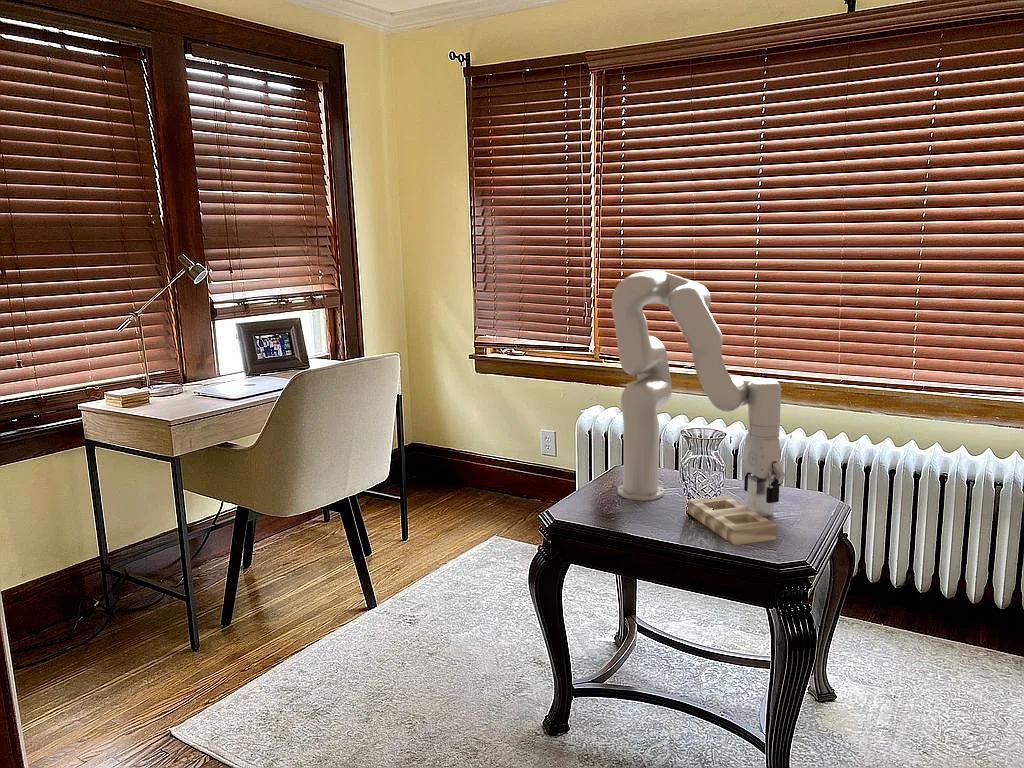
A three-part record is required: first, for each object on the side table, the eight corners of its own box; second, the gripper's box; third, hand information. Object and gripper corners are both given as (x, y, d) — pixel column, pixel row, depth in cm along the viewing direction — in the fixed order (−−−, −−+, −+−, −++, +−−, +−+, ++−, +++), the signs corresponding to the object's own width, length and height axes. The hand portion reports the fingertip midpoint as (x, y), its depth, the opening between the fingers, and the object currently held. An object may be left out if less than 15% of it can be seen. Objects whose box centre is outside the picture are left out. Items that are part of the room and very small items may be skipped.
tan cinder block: (687, 513, 203) (687, 499, 202) (726, 508, 206) (726, 495, 205) (734, 545, 182) (734, 530, 181) (776, 539, 185) (776, 524, 184)
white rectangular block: (746, 511, 203) (748, 474, 201) (764, 509, 204) (765, 472, 202) (755, 517, 199) (757, 478, 197) (773, 514, 200) (774, 476, 198)
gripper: (731, 423, 205) (729, 487, 208) (770, 440, 188) (767, 509, 191) (757, 421, 207) (754, 484, 210) (798, 437, 190) (795, 505, 193)
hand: (761, 496), depth 201 cm, fingers open, 9 cm apart
